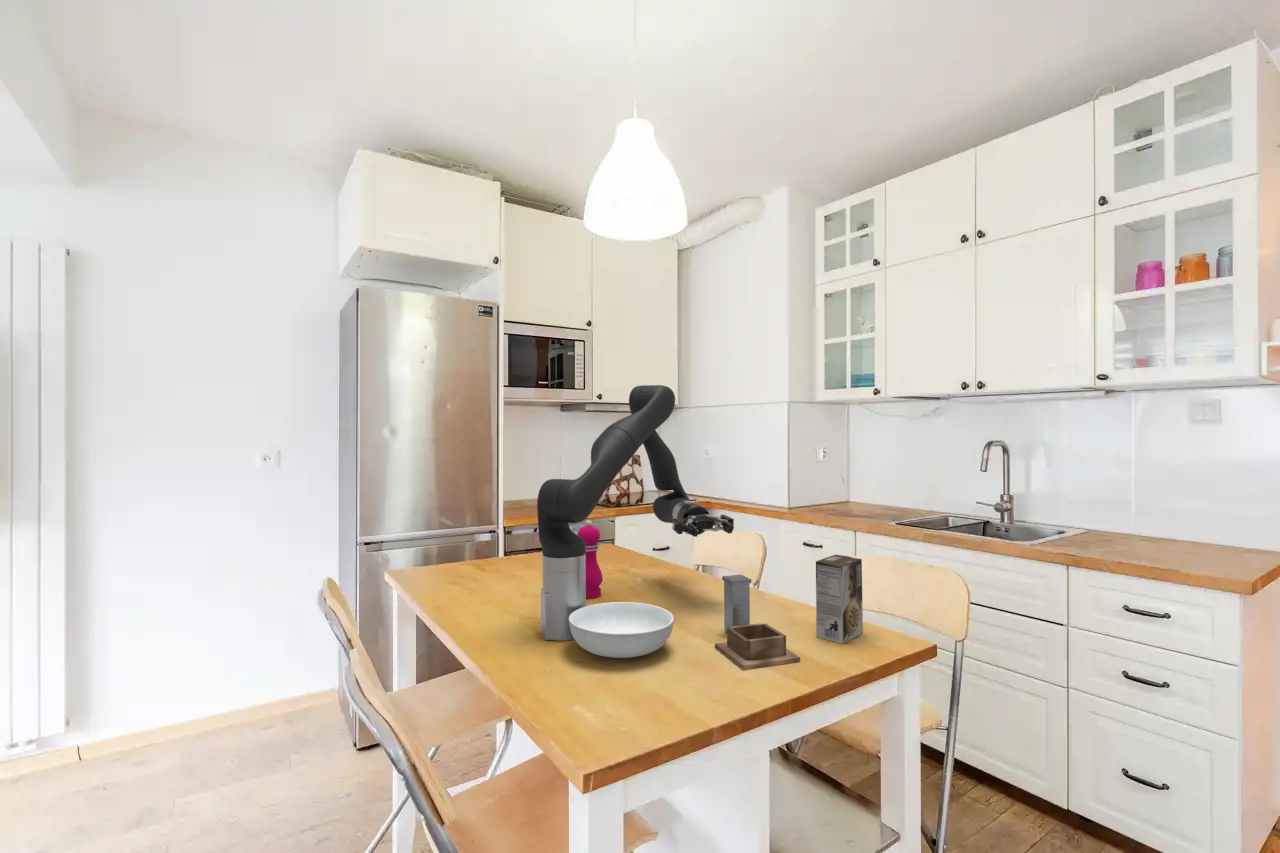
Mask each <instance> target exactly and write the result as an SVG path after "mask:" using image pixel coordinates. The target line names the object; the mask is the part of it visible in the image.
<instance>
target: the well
mask: <svg viewBox="0 0 1280 853" xmlns="http://www.w3.org/2000/svg"><path fill="white" fill-rule="evenodd" d="M714 649H716V650H717V651H719V653H720V654H722V655H724V656H725V657H726V659H728V660H730V661H731V662H732V663H733V664H735V665H736V666H737V667H738V668H740V669H741V670H742V671H744V670H751V669H752V670H753V669H760V668H765V667H773V666H779V665H780V666H781V665H787V664H794V663H799V662H801V657H800V656H799V655H797V654H795V653H794V652H792V651H790V650H789V649H787V635H786V634H784V633H783V632H780V631H779V630H777V629H776V628H775V627H772V626H770V625H769V624H767V623H761V622H760V623H754V624H751V623H750V625H742V626H734V627H730V628H727V633H726V641H724V642H718V643H717V642H716V643H714Z"/></svg>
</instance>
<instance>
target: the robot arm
mask: <svg viewBox="0 0 1280 853" xmlns="http://www.w3.org/2000/svg"><path fill="white" fill-rule="evenodd" d="M628 404H629V410H630V414H629V415H628V416H625V417H623V418H620V419H619V420H616V421H615V422H613V423H611V424H610V425H608V426H607V427H606V428H605V429H604V430H603V431H602V433H600V435H598V437H597V438H596V439H595V441H593V444H592V446H591V449H590V465H589V467H588V468H587V470H586V471H584V473H583V474H581V475H580V476H579V477H578V478H575V479H567V478H566V479H565V478H564V479H563V478H550V479H547V480H545V481H544V482H543V483H542V485H541V486H540V488H539V489H538V490H539V491H538V495H537V498H536V499H537V504H536V511H537V512H536V514H537V528H538V530H537V531H538V540H539V543H540V546H541V551H542V554H541V555H542V587H541V589H540V632H541V634H542V636H543V638H544V640H545V641H559V642H560V641H571V640H575V639H574V638H573V636H572V633H571V630H570V626H569V616H570V615H571V613H573V612H574V611H576V610H578V609H580V608H583V607H586V606H587V599H586V555H585V553H586V547H585V541H584V540H583V539H582V538H580V537H579V536H577V535H578V534H576V533H575V532H574V531H573V530H572V529H571V527H570V524H578V523H581V522H584V521H585V520H587V519H588V517H589V516H590V514H592V512H593V511H594V509H595V508H596V506H597V505H598V503H599V501H600V500H601V498H602V497H603V495H604V493H605V492H606V490H607V489H608V487H609V485H611V483H612V482H613V481H614V480H615V478H616V477H617V475H618V474H619V473H620V472H621V470H622V469H623V468H624V467H625V466H626V465H627V463H629V461H630V460H631V459H632V458H633V457H634V456H635V454H636V452H638V450H639V448H640V447H641V446H642V445H643V446H644V449H645V452H646V455H647V459H648V461H649V466H650V469H651V475H652V479H653V484H654V487H655V488H656V489H657V491H662V492H663V491H664V492H668V491H669V493H666V494H664V495H661V496H658V497H656V498H655V499H654V501H653V503H652V511H653V514H654V515H655V517H656V518H657V519H658V520H659V521H661V522H663V523H668V524H672V530H673V531H674V532H675V533H676V534H678V535H683V533H685V535H690V536H692V537H698V535H702V534H703V533H706V532H708V531H711V532H719V531H724V532H725V533H727V534H733V532H734V530H735V524H734V523H735V522H734V521H735V519H734V518H732V517H731V516H728V515H726V514H720V515H719V516H716V515H711V514H710V512H709V511H708V510H707V509H706V508H705V507H704V506H702V505H700V504H698V503H696V502H694V501H691V500H690V498H689V496H688V495H687V492H686V491H685V488H684V487H683V485H682V482H681V480H680V477H679V473H678V468H677V463H676V458H675V456H674V454H673V452H672V451H671V449H670V448H669V447H668V445H667V444H666V443H665V441H664V440H663V439H662V438H661V436H660V435H659V433H658V432H657V429H658V428H659V427H660V426H661V425H663V424H664V423H665V422H666V421H667V420H668V419H669V418H670V417H671V415H672V413H673V411H674V409H675V405H676V396H675V393H674V391H673V389H672V388H670V387H669V386H667V385H662V384H661V385H660V384H656V385H655V384H650V385H649V384H648V385H647V384H646V385H636V386H634V387H633V388H632V390H630V393H629V398H628ZM670 491H672V492H670Z"/></svg>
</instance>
